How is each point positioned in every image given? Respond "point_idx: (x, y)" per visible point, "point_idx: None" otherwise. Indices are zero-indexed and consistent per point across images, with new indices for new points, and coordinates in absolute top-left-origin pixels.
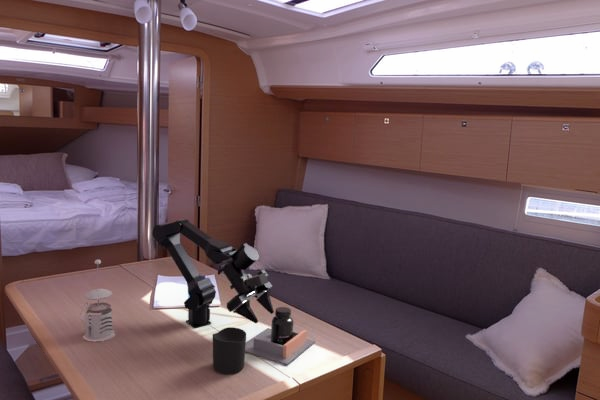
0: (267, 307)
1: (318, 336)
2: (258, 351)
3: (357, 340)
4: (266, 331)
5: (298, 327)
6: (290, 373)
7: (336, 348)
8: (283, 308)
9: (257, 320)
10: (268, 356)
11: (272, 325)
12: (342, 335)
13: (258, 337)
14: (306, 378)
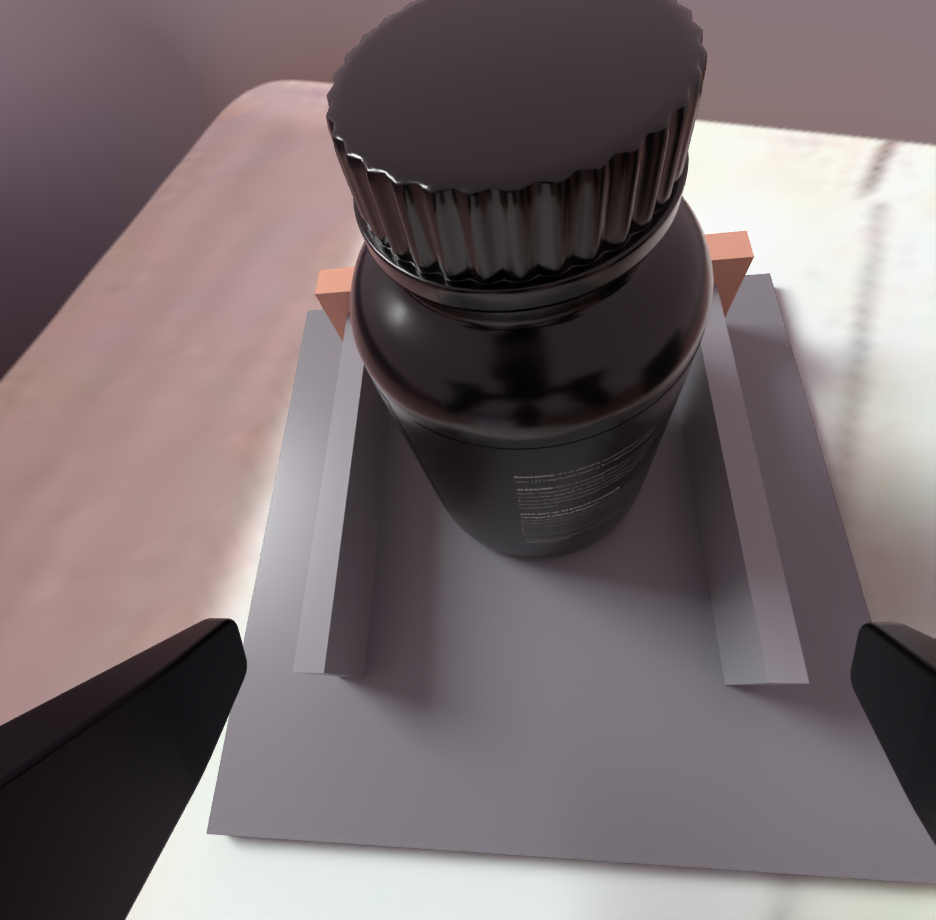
0: (128, 815)
1: (203, 351)
2: (788, 580)
3: (180, 172)
4: (306, 790)
5: (79, 558)
6: (834, 224)
7: (333, 199)
8: (440, 88)
9: (906, 633)
10: (790, 446)
11: (682, 384)
12: (137, 252)
13: (500, 787)
14: (801, 141)
